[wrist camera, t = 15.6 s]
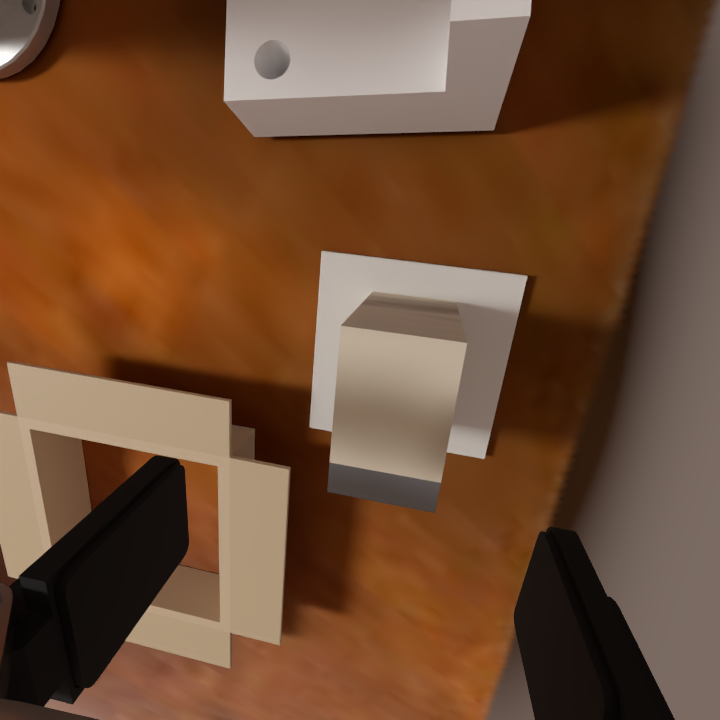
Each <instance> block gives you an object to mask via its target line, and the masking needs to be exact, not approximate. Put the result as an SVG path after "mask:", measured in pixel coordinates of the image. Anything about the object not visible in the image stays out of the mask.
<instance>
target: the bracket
mask: <svg viewBox="0 0 720 720" xmlns="http://www.w3.org/2000/svg"><path fill="white" fill-rule="evenodd" d="M531 2H532V0H227V10H226V44H225V77H224V102H225V103H226V104H227V105H228V107H229V108H230V109H231V110H232V111H233V112H234V114H235V115H236V116H237V117H238V118H239V119H240V121H241V122H242V123H243V124H244V125H245V126H246V128H247V129H248V130H249V131H250V132H251V133H252V135H253V136H254V137H275V136H310V135H346V134H382V133H418V132H454V131H490V130H494V128H495V125H496V122H497V119H498V116H499V113H500V109H501V106H502V103H503V100H504V97H505V94H506V91H507V88H508V84H509V81H510V78H511V75H512V72H513V69H514V66H515V63H516V59H517V56H518V53H519V50H520V47H521V44H522V41H523V38H524V34H525V31H526V28H527V25H528V22H529V19H530V16H531Z"/></svg>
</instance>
